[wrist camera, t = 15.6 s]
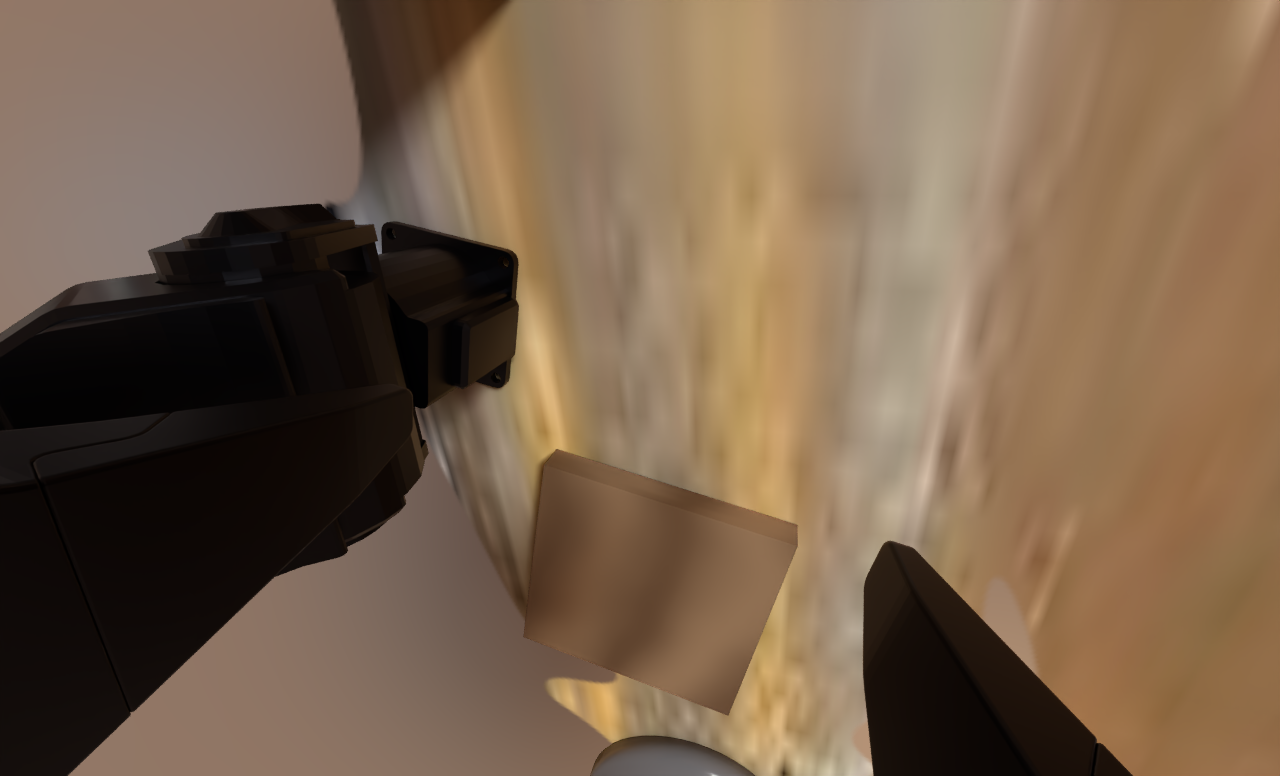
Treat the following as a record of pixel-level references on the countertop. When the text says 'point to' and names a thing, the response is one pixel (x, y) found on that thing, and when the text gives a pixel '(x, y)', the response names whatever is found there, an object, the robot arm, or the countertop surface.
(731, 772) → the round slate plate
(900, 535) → the countertop surface
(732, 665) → the square walnut board
